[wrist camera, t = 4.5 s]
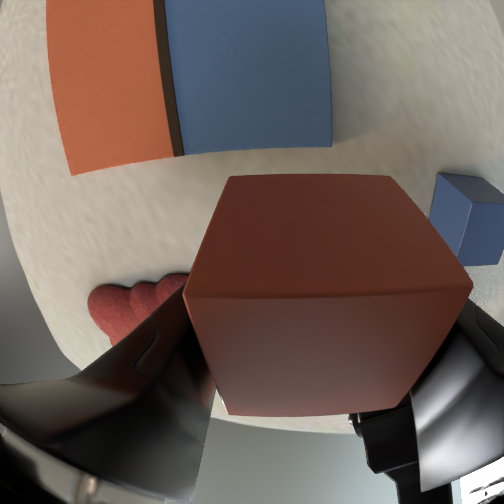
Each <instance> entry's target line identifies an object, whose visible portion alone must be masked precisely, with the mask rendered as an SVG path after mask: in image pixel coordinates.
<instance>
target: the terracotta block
mask: <svg viewBox="0 0 504 504" xmlns="http://www.w3.org/2000/svg"><path fill="white" fill-rule="evenodd" d="M472 289H473V282H472V280H471V278H470V277H469V275H468V274H467V272H466V271H465V269H464V268H463V266H462V265H461V263H460V262H459V260H458V259H457V257H456V256H455V255H454V253H453V252H452V250H451V249H450V247H449V246H448V245H447V243H446V242H445V241H444V239H443V238H442V237H441V235H440V234H439V233H438V231H437V230H436V229H435V227H434V226H433V225H432V224H431V222H430V221H429V220H428V219H427V217H426V216H425V215H424V214H423V212H422V211H421V210H420V209H419V208H418V206H417V205H416V204H415V203H414V202H413V201H412V199H411V198H410V197H409V196H408V195H407V194H406V193H405V191H404V190H403V189H402V188H401V187H400V186H399V185H398V184H397V183H396V181H395V180H394V179H393V178H392V177H391V176H383V175H360V174H269V175H244V176H230V177H229V178H228V180H227V183H226V185H225V187H224V190H223V192H222V194H221V197H220V199H219V201H218V204H217V206H216V209H215V211H214V213H213V216H212V218H211V221H210V223H209V226H208V228H207V231H206V233H205V236H204V238H203V241H202V243H201V246H200V248H199V251H198V253H197V256H196V259H195V261H194V264H193V266H192V269H191V272H190V274H189V277H188V280H187V282H186V285H185V288H184V290H183V298H184V301H185V304H186V307H187V310H188V313H189V316H190V319H191V322H192V325H193V328H194V330H195V333H196V336H197V339H198V341H199V344H200V347H201V350H202V352H203V355H204V358H205V360H206V363H207V365H208V368H209V370H210V373H211V376H212V378H213V381H214V383H215V385H216V388H217V390H218V393H219V395H220V398H221V400H222V402H223V405H224V407H225V409H226V412H227V414H229V415H238V416H259V417H305V416H326V415H339V414H350V413H359V412H368V411H375V410H382V409H388V408H394V407H396V406H397V405H398V403H399V402H400V401H401V400H402V399H403V397H404V396H405V395H406V394H407V392H408V391H409V390H410V389H411V387H412V386H413V385H414V383H415V382H416V381H417V379H418V378H419V377H420V375H421V374H422V372H423V371H424V370H425V368H426V367H427V365H428V364H429V363H430V361H431V360H432V358H433V357H434V355H435V354H436V352H437V351H438V349H439V347H440V346H441V344H442V343H443V341H444V340H445V338H446V336H447V335H448V333H449V331H450V330H451V328H452V326H453V325H454V323H455V321H456V319H457V317H458V316H459V314H460V312H461V310H462V308H463V306H464V305H465V303H466V301H467V299H468V297H469V295H470V293H471V291H472Z"/></svg>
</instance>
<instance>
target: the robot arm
mask: <svg viewBox="0 0 504 504" xmlns="http://www.w3.org/2000/svg"><path fill="white" fill-rule="evenodd" d="M186 282H187V281H185V282H184V283H183V284H182V285H181V286H180V287H179V288H178V289H177V290H176V291H175V292H174V293H172V294H171V295H170V296H169V297H168V298H167V299H166V300H165V301H164V302H163V303H162V304H161V305H159V306H158V307H157V308H156V309H155V310H154V311H153V312H152V313H151V314H150V317H149V316H148V317H147V318H145V319H144V320H143V321H142V322H141V323H140V324H139V325H138V326H137V327H136V328H135V329H133V330H132V331H131V332H130V333H129V334H128V335H127V336H125V337H124V338H123V339H122V340H121V341H119V342H118V343H117V344H116V345H114V346H113V347H112V348H111V349H109V350H108V351H107V352H105V353H104V354H103V355H102V356H100V357H99V358H98V359H97V360H95V361H94V362H93V363H91V364H90V365H89V366H88V367H86V368H85V369H84V370H82V371H81V372H79V373H78V374H76V375H73V376H71V377H68V378H65V379H58V380H50V381H40V382H30V383H19V384H0V423H1V424H3V425H4V426H5V427H6V428H5V431H4V434H3V435H2V434H1V433H0V504H166V501H167V500H171V501H176V502H181V503H186V504H192V500H193V495H194V491H195V485H196V481H197V477H198V472H199V467H200V462H201V458H202V453H203V448H204V443H205V438H206V433H207V429H208V424H209V420H210V415H211V411H212V406H213V401H214V397H215V392H216V385H215V383H214V381H213V378H212V376H211V373H210V370H209V368H208V365H207V363H206V360H205V358H204V355H203V352H202V350H201V347H200V344H199V341H198V339H197V336H196V333H195V330H194V328H193V325H192V322H191V319H190V316H189V313H188V310H187V307H186V304H185V301H184V298H183V290H184V288H185V285H186ZM348 420H349V423H350V424H351V425H353V427H354V429H355V432H356V434H357V435H358V437H360V438H363V441H364V445H365V451H366V458H367V464H368V466H369V467H370V468H371V470H372V471H373V472H374V473H375V474H378V473H382V472H383V473H384V474H386V475H387V476H388V477H389V478H390V479H392V480H393V481H394V482H395V484H396V489H397V496H398V503H399V504H453V496H452V486H451V482H452V481H455V480H457V479H460V487H461V497H462V501H463V504H504V327H503V326H502V325H501V324H500V323H498V322H497V321H496V320H494V319H493V318H492V317H491V316H490V315H488V314H487V313H486V312H485V311H484V310H482V309H481V308H480V307H479V306H476V304H475V303H474V302H473V301H471V300H470V299H469V298H468V299H467V301H466V303H465V305H464V306H463V308H462V310H461V312H460V314H459V316H458V317H457V319H456V321H455V323H454V325H453V326H452V328H451V330H450V331H449V333H448V335H447V336H446V338H445V340H444V341H443V343H442V344H441V346H440V347H439V349H438V351H437V352H436V354H435V355H434V357H433V358H432V360H431V361H430V363H429V364H428V365H427V367H426V368H425V370H424V371H423V372H422V374H421V375H420V377H419V378H418V379H417V381H416V382H415V383H414V385H413V386H412V387H411V389H410V390H409V391H408V392H407V394H406V395H405V396H404V397H403V399H402V400H401V401H400V402H399V403H398V405H397V406H396V407H394V408H388V409H382V410H375V411H368V412H359V413H350V414H349V417H348Z"/></svg>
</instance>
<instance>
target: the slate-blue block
mask: <svg viewBox="0 0 504 504" xmlns="http://www.w3.org/2000/svg"><path fill="white" fill-rule="evenodd" d="M429 221H430V222H431V224H432V225H433V226H434V227H435V229H436V230H437V231H438V233H439V234H440V235H441V237H442V238H443V239H444V241H445V242H446V243H447V245H448V246H449V247H450V249H451V250H452V252H453V253H454V255H455V256H456V257H457V259H458V260H459V262H460V263H461V265H462V266H463V267H464V266H481V265H496V264H498V262H499V260H500V258H501V255H502V253H503V250H504V194H503V193H501V192H500V191H499V190H498V189H496V188H495V187H494V186H492V185H491V184H490V183H488V182H487V181H486V180H484V179H483V178H478V177H471V176H463V175H455V174H446V173H438V175H437V181H436V187H435V192H434V198H433V203H432V208H431V212H430V217H429Z"/></svg>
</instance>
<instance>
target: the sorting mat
mask: <svg viewBox="0 0 504 504" xmlns="http://www.w3.org/2000/svg"><path fill="white" fill-rule="evenodd" d="M46 30H47V48H48V60H49V69H50V77H51V85H52V92H53V98H54V104H55V109H56V114H57V119H58V124H59V129H60V133H61V138H62V142H63V146H64V150H65V154H66V158H67V162H68V165H69V169H70V172H71V175H72V176H74V175H78V174H82V173H86V172H91V171H95V170H100V169H105V168H109V167H114V166H120V165H125V164H130V163H136V162H142V161H148V160H155V159H161V158H168V157H178V156H184V155H191V154H200V153H210V152H220V151H232V150H246V149H263V148H290V147H332V107H331V80H330V63H329V49H328V37H327V26H326V17H325V8H324V0H46Z"/></svg>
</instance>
